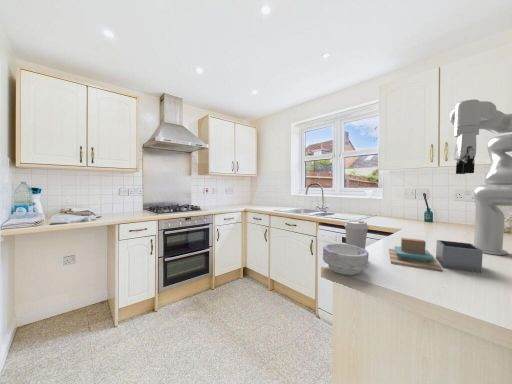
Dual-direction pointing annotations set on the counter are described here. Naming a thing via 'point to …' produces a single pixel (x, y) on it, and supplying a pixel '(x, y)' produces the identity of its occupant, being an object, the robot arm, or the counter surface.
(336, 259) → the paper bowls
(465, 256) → the tin
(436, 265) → the wooden board
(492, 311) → the counter surface
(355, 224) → the coffee cup
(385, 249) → the counter surface
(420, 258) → the lid
